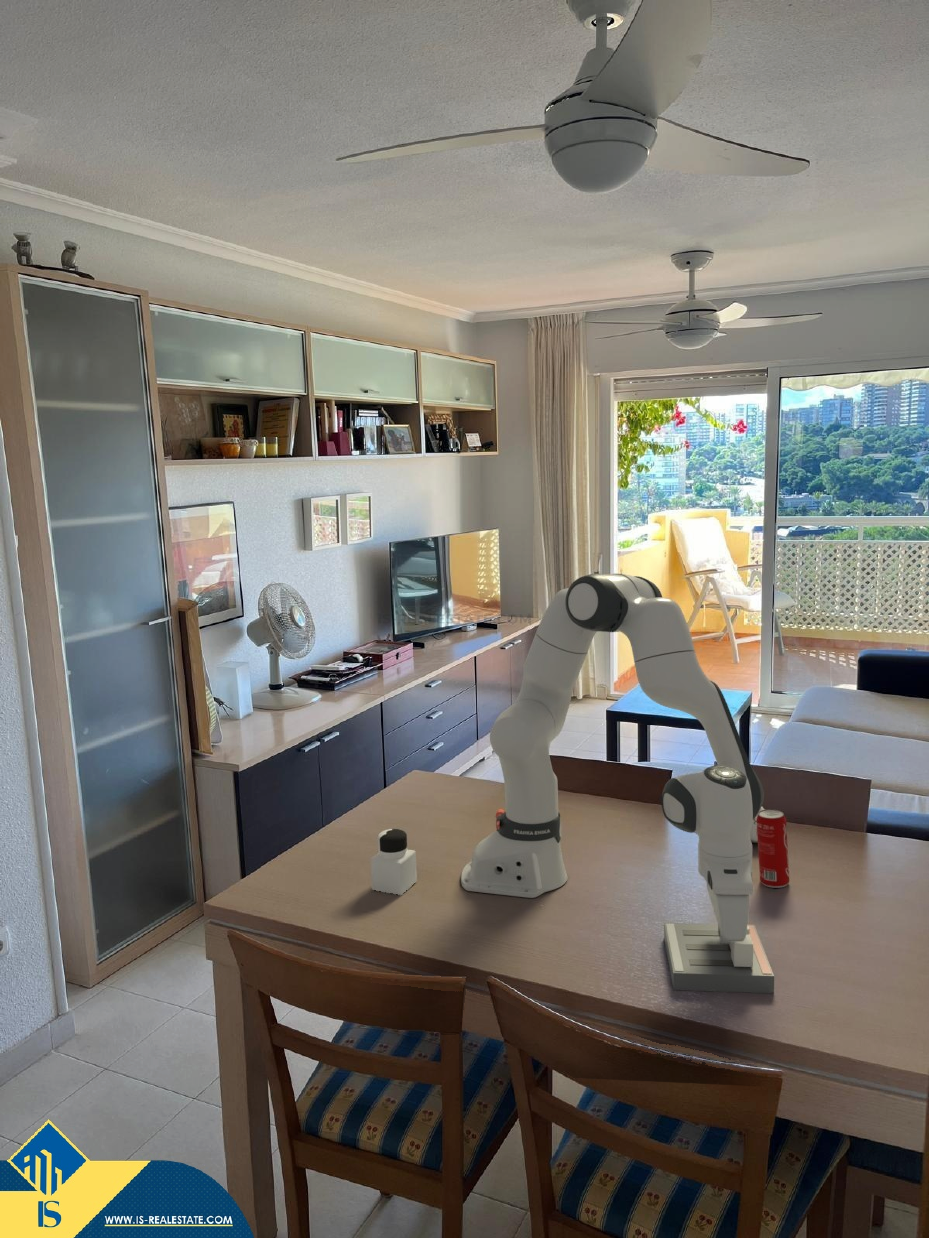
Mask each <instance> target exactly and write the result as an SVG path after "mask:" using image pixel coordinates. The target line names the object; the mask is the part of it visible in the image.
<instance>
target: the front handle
mask: <svg viewBox="0 0 929 1238" xmlns="http://www.w3.org/2000/svg"><path fill="white" fill-rule="evenodd" d="M731 958H732V961H733V964H734V966H737V967H753V942H752V940H751V937H750V935H746V937H745V940H744V941H731Z"/></svg>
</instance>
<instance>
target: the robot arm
mask: <svg viewBox="0 0 929 1238" xmlns="http://www.w3.org/2000/svg"><path fill="white" fill-rule="evenodd" d="M598 632H603V633H618V632H620V633H622V634H623V635H625V637H626V638H627V639H628V641H629V643H630V647H631V651H632V656H633V662H634V668H635V672H636V678H637V681H638V683H639V686H640V688H641V690H642V692H643V693H644V694H645V695H646V696H647V697H648V698H649V700H651V701H652V702H655V703H656V704H658V705H660V706H663V707H665V708H669V709H672V710H673V709H674V710H677V711H680V712H682V713H683V712H684V713H685V714H688V715H690V716H692V717H694V718H695V719H696V720H697V721H698V722H699V723H700V724H701V726H702V727H703V728H704V732H705V734H706V736H707V739H708V742H709V745H710V747H711V750H712V752H713V755H714V758H715V761H716V763H717V765H711V766H708V767H706V768H704V769H703V770H702V771H700V772H692V773H687V774H682V775H678V776H674V777H672V778H669V779H668V781H667V782H666V783H665V785H664V788H663V789H662V794H661V809H662V813H663V816H664V818H665V819H666V820H667V821H668V822H669V824H671V825H672V826H673V827H674V828H677V829H678V830H681V831H683V832H686V833H691V834H692V833H694V834H696V835H697V836H698V844H697V846H698V847H697V848H698V849H697V850H698V851H697V852H698V853H697V855H698V856H697V859H698V861H697V871H698V874H699V875H700V876H701V877H702V878H704V880H705V882H706V889H707V892H708V895H709V899H710V901H711V905H712V909H713V912H714V915H715V918H716V922H717V924H718V934H719V937H720V941H721V943H724V944H729V943H731V941H744V940H745V937H746V934H747V925H749V924H748V923H749V913H750V896H749V895H753V893H754V880H753V844H752V843H753V842H751V839H750V832H751V829H752V825H753V819H754V818H755V817H756V816H757V814H758V813H759V811H760V809H761V806H762V807H763V803H764V800H765V799H764V798H765V797H764V796H765V793H764V789H763V785H762V783H761V780H760V779H759V777H758V776H757V773H756V772H755V769H754V768H753V767H752V765H751V763H750V760H749V758H748V755H747V752H746V749H745V748H744V745H743V742H742V740H741V736H740V735H739V731H738V729H737V726H736V723H735V720H734V718H733V716H732V713H731V710H730V707H729V705H728V703H727V700H726V698H725V695H724V694H723V692H722V690H721V689H720V687H719V685H718V684H716V683H715V682H714V681H712V680H710V679H709V677H708V676H707V675H706V673H705V672H704V671H703V669H702V667H701V665H700V663H699V660H698V658H697V654H696V650H695V646H694V642H693V638H692V635H691V632H690V628H689V625H688V623H687V621H686V618H685V614H684V613H683V611H682V608H681V607H680V605H679V604H678V603H677V602H676V601H675V600H673V599H671V598H667V597H663V595H662V592H661V591H660V589H659V587H658V586H657V585H656V584H655V583H654V582H652V581H651V580H649V579H647V578H644V577H642V576H638V575H637V576H636V575H635V576H633V575H630V574H625V573H609V574H607V573H603V574H601V573H591V574H586V575H584V576H581V577H578V578H577V579H575V580H574V581H573V582H572V583H571V584H570V585H569V587H568V588H567V587H566V588H563V589H560V590H559V591H557V592H556V594H555V595H554V596H553V598H552V600H551V601H550V603H549V605H548V606H547V607H546V610H545V612H544V614H543V616H542V617H541V620H540V622H539V624H538V627H537V629H536V631H535V635H534V637H533V640H532V642H531V645H530V647H529V650H528V652H527V655H526V659H525V660H524V663H523V668H522V670H523V676H522V681H521V686H520V690H519V693H518V696H517V698H516V699H515V701H514V702H513V703H512V704H511V705H510V706H508V707H507V708H506V709H504V710H503V711H502V712H501V713H500V714H499V715H498V716H497V718H496V719H495V720H494V723H493V725H492V727H491V729H490V733H489V741H490V745H491V748H492V750H493V752H494V753H495V754H496V756H497V757H498V759H499V763H500V768H501V770H502V771H501V772H502V776H503V781H504V803H505V810H504V809H503V808H499V809H497V810H496V812H495V818H496V820H495V826H496V827H495V828H496V830H495V831H493V832H492V833H491V834H489V835H488V836H486V837H485V838H484V839H482V840H480V842H479V843H478V844H477V845H476V847H475V848H474V851H473V853H472V857H471V861H470V862H468V863H466V865H465V866H464V867H463V869H462V872H461V878H460V883H461V884H460V885H461V887H462V888H463V889H464V890H466V891H467V892H476V893H477V892H478V893H485V894H492V895H494V894H495V895H502V896H509V897H510V896H511V897H520V898H521V897H522V898H529V899H534V898H537V897H539V896H541V895H542V894H544V893H546V892H550V891H553V890H556V889H558V888H560V887H562V886H563V885H565V883H566V882H567V881H568V874H567V870H566V867H565V863H564V860H563V859H564V858H563V854H562V848H561V840H562V819H561V813H560V812H559V794H558V793H559V788H558V786H559V785H558V777H557V775H556V774H555V772H554V771H553V770H554V769H553V766H552V762H551V758H550V756H551V755H550V746H551V743H552V741H554V740H555V739H556V738H557V737H558V736H559V735H560V734H561V732H562V729H563V727H564V725H565V722H566V717H567V714H568V711H569V708H570V704H571V699H572V696H573V692H574V688H575V685H576V682H577V679H578V677H579V675H580V672H581V670H582V667H583V664H584V661H585V660H586V658H587V654H588V652H589V650H590V647H591V645H592V641H593V639H594V637H595V635H596V633H598Z"/></svg>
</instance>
